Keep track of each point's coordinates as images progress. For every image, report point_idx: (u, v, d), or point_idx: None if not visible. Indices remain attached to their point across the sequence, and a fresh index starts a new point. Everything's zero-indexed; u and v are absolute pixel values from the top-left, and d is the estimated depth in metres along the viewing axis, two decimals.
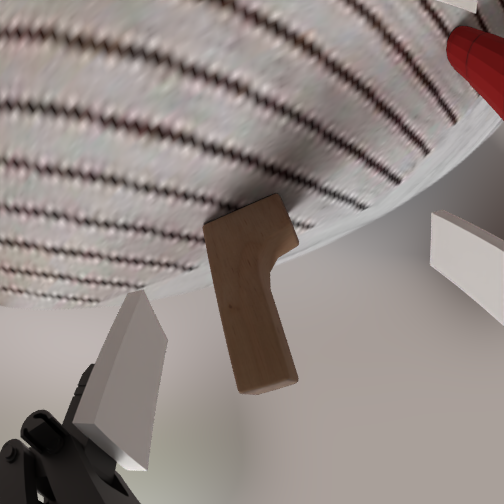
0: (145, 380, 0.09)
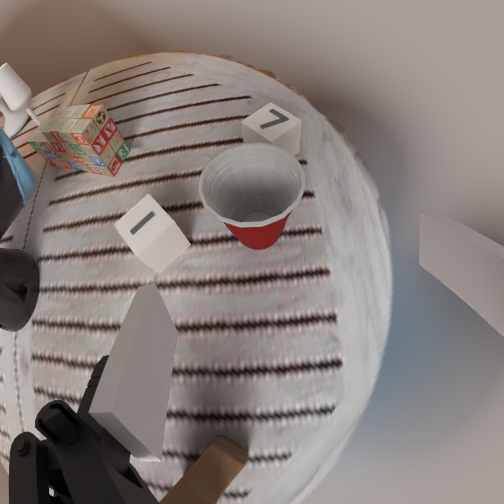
0: (158, 371, 0.09)
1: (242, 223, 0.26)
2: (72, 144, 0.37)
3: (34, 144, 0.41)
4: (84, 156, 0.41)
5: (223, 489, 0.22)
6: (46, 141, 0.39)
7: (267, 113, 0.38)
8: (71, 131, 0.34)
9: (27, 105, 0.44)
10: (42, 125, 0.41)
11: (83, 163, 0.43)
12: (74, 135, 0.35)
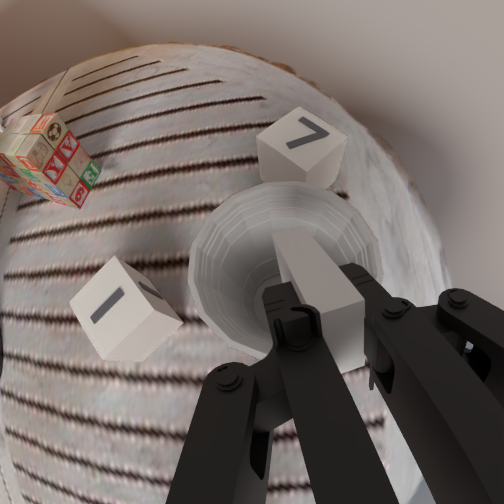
0: None
1: None
2: (22, 169, 0.25)
3: None
4: (40, 184, 0.28)
5: None
6: None
7: (295, 123, 0.25)
8: (16, 153, 0.22)
9: None
10: None
11: (42, 190, 0.31)
12: (20, 158, 0.22)
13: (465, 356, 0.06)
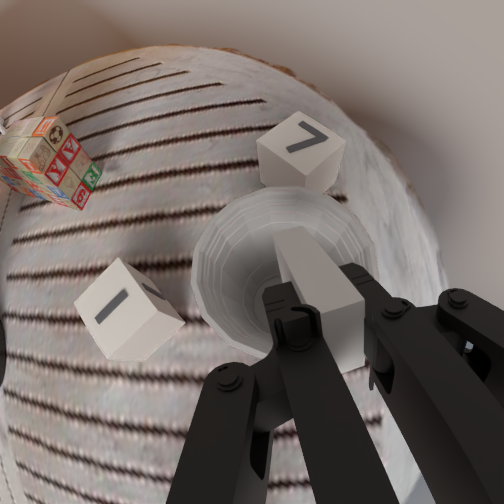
0: None
1: None
2: (25, 171, 0.26)
3: None
4: (42, 186, 0.29)
5: None
6: (0, 166, 0.27)
7: (295, 127, 0.25)
8: (18, 156, 0.22)
9: None
10: None
11: (44, 192, 0.31)
12: (22, 161, 0.23)
13: (465, 356, 0.06)
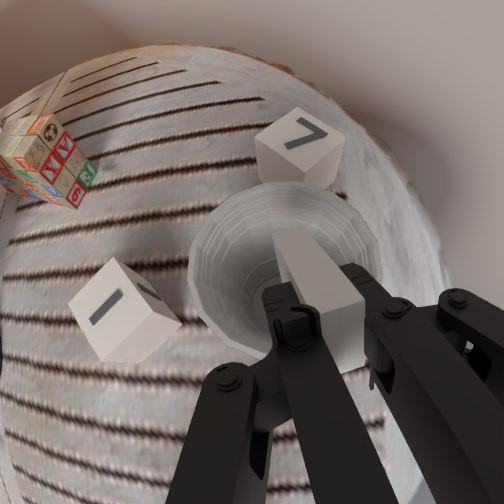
0: None
1: None
2: (19, 170, 0.25)
3: None
4: (37, 185, 0.28)
5: None
6: None
7: (293, 124, 0.25)
8: (13, 154, 0.22)
9: None
10: None
11: (39, 192, 0.31)
12: (17, 159, 0.22)
13: (465, 356, 0.06)
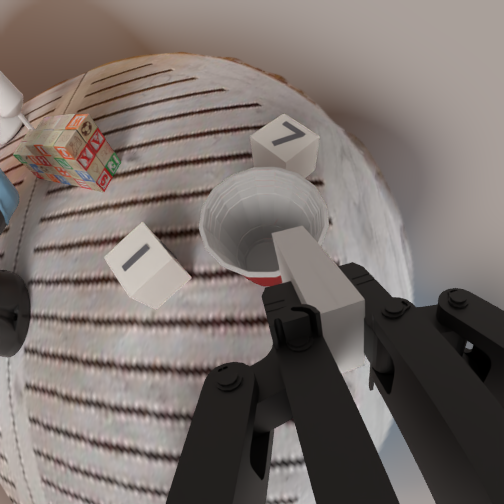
0: None
1: (251, 273, 0.21)
2: (57, 158, 0.34)
3: (20, 157, 0.37)
4: (70, 171, 0.37)
5: None
6: (31, 154, 0.35)
7: (280, 126, 0.33)
8: (54, 144, 0.30)
9: (18, 111, 0.40)
10: (28, 136, 0.37)
11: (71, 177, 0.39)
12: (58, 149, 0.31)
13: (465, 356, 0.06)
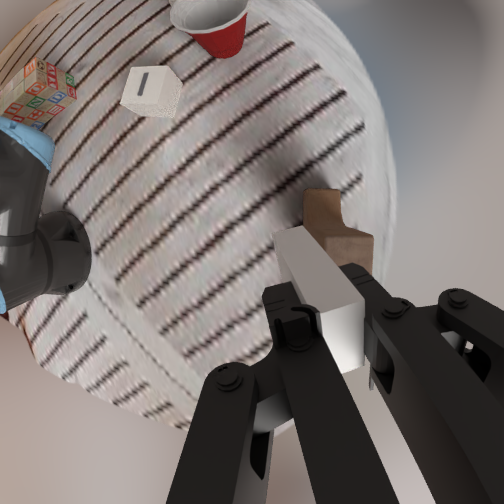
0: None
1: (224, 24, 0.26)
2: (29, 102, 0.32)
3: None
4: (43, 105, 0.35)
5: (341, 218, 0.34)
6: None
7: None
8: (25, 89, 0.28)
9: None
10: None
11: (44, 113, 0.38)
12: (29, 90, 0.29)
13: (465, 356, 0.06)
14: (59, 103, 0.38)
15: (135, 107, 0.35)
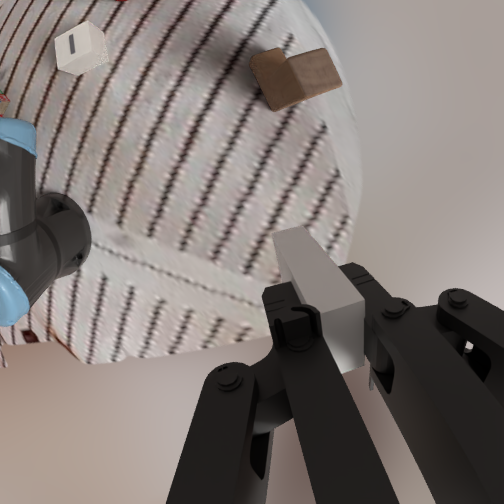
0: None
1: None
2: None
3: None
4: None
5: None
6: None
7: None
8: None
9: None
10: None
11: None
12: None
13: (465, 356, 0.06)
14: None
15: (72, 66, 0.29)
